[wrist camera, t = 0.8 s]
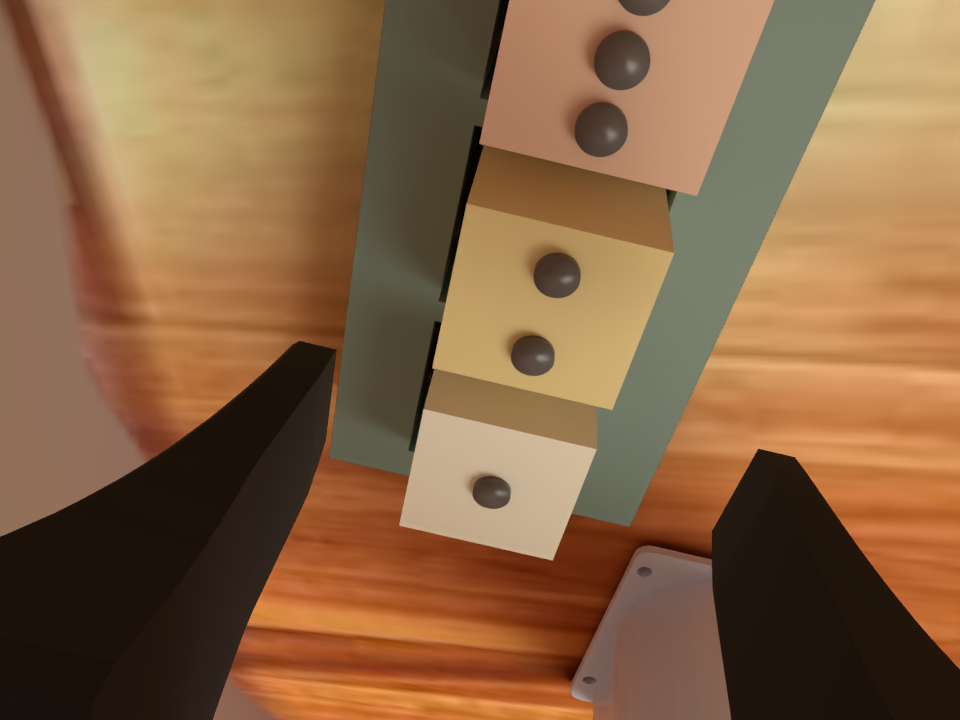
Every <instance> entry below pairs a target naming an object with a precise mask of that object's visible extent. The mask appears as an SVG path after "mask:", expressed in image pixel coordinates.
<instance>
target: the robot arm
mask: <svg viewBox="0 0 960 720" xmlns="http://www.w3.org/2000/svg"><path fill="white" fill-rule="evenodd" d="M335 358H336V350H335V349H331V348H327V347H322V346H318V345H314V344H310V343H305V342H301V341H299V342H297V343H295V344H293V345H292V346H291V347H290V348H289V349H288V350H287V351H286V352H285V353H284V354H283V355H282V356H281V357H280V358H279V359H278V360H277V361H275V362H274V363H273V364H272V365H271V366H270V367H269V368H268V369H267V370H266V371H265V372H264V373H263V374H262V375H260V376H259V377H258V378H257V379H256V380H255V381H254V382H253V383H251V384H250V385H249V386H248V387H247V388H246V389H245V390H243V391H242V392H241V393H240V394H239V395H237V396H236V397H235V398H234V399H232V400H231V401H230V402H229V403H228V404H226V405H225V406H224V407H223V408H222V409H220V410H219V411H218V412H217V413H215V414H214V415H213V416H212V417H210V418H209V419H208V420H206V421H205V422H204V423H202V424H201V425H200V426H198V427H197V428H195V429H194V430H193V431H191V432H190V433H189V434H187V435H186V436H185V437H183V438H182V439H180V440H179V441H178V442H176V443H175V444H174V445H172V446H171V447H169V448H168V449H166V450H165V451H163V452H162V453H160V454H159V455H157V456H156V457H154V458H153V459H151V460H150V461H148V462H146V463H145V464H143V465H142V466H140V467H138V468H137V469H135V470H133V471H132V472H130V473H128V474H127V475H125V476H123V477H122V478H120V479H118V480H117V481H115V482H113V483H111V484H109V485H107V486H106V487H104V488H102V489H100V490H98V491H96V492H95V493H93V494H91V495H89V496H87V497H86V498H84V499H82V500H80V501H78V502H76V503H74V504H72V505H70V506H68V507H66V508H64V509H62V510H60V511H58V512H56V513H54V514H52V515H49V516H47V517H45V518H42V519H40V520H38V521H36V522H33V523H31V524H29V525H26V526H24V527H22V528H20V529H17V530H15V531H13V532H11V533H8V534H6V535H4V536H1V537H0V720H213V717H214V714H215V711H216V708H217V706H218V703H219V699H220V697H221V694H222V691H223V688H224V685H225V683H226V680H227V677H228V674H229V672H230V669H231V666H232V663H233V660H234V658H235V655H236V652H237V649H238V646H239V644H240V641H241V638H242V635H243V633H244V630H245V628H246V626H247V623H248V621H249V618H250V616H251V614H252V611H253V609H254V607H255V605H256V603H257V600H258V598H259V596H260V594H261V592H262V590H263V588H264V586H265V584H266V582H267V579H268V577H269V575H270V573H271V571H272V569H273V567H274V565H275V563H276V561H277V559H278V556H279V554H280V552H281V550H282V548H283V546H284V544H285V542H286V540H287V538H288V535H289V533H290V531H291V529H292V527H293V525H294V523H295V521H296V519H297V516H298V514H299V512H300V510H301V508H302V506H303V504H304V501H305V499H306V497H307V495H308V492H309V489H310V486H311V483H312V481H313V478H314V475H315V472H316V469H317V466H318V463H319V460H320V457H321V454H322V451H323V448H324V444H325V441H326V433H327V425H328V417H329V408H330V400H331V392H332V383H333V375H334V367H335ZM641 567H647V568H641ZM570 693H571V695H572V696H573V697H575V698H577V699H580V700H584V701H588V702H593V720H960V669H959V668H958V667H957V666H956V665H955V664H954V663H953V662H952V661H951V660H950V658H949V657H948V656H947V655H946V654H945V653H944V652H943V651H942V650H941V649H940V648H939V647H938V646H937V644H936V643H935V642H934V641H933V640H932V639H931V638H930V637H929V636H928V634H927V633H926V632H925V631H924V630H923V629H922V627H921V626H920V625H919V624H918V623H917V622H916V620H915V619H914V618H913V617H912V616H911V614H910V613H909V612H908V611H907V609H906V608H905V607H904V606H903V604H902V603H901V602H900V601H899V600H898V598H897V597H896V596H895V595H894V593H893V592H892V591H891V590H890V588H889V587H888V586H887V585H886V583H885V582H884V581H883V579H882V578H881V577H880V575H879V574H878V573H877V572H876V570H875V569H874V568H873V566H872V565H871V564H870V562H869V561H868V560H867V558H866V557H865V555H864V554H863V553H862V551H861V550H860V549H859V547H858V546H857V544H856V543H855V542H854V540H853V539H852V537H851V536H850V535H849V533H848V532H847V530H846V529H845V528H844V526H843V525H842V523H841V522H840V520H839V519H838V518H837V516H836V515H835V513H834V512H833V510H832V509H831V508H830V506H829V505H828V503H827V502H826V500H825V499H824V497H823V496H822V495H821V493H820V492H819V490H818V489H817V487H816V486H815V484H814V483H813V482H812V480H811V479H810V477H809V476H808V475H807V473H806V472H805V470H804V469H803V468H802V466H801V465H800V464H799V462H798V461H797V460H796V458H795V457H791V456H787V455H782V454H778V453H774V452H770V451H765V450H761V449H758V451H757V452H756V454H755V456H754V458H753V460H752V461H751V463H750V465H749V467H748V468H747V470H746V472H745V474H744V475H743V477H742V479H741V481H740V483H739V484H738V486H737V488H736V490H735V491H734V493H733V495H732V497H731V499H730V500H729V502H728V504H727V506H726V507H725V509H724V511H723V513H722V515H721V516H720V518H719V520H718V522H717V523H716V525H715V527H714V529H713V530H712V559H708V558H703V557H699V556H695V555H690V554H686V553H682V552H677V551H673V550H668V549H664V548H660V547H655V546H649V545H647V546H642V547H640V548H638V549H637V550H636V551H635V552H634V554H633V556H632V558H631V561H630V563H629V565H628V567H627V569H626V571H625V573H624V575H623V577H622V579H621V581H620V583H619V585H618V587H617V589H616V591H615V594H614V596H613V598H612V600H611V602H610V604H609V606H608V608H607V610H606V612H605V614H604V616H603V618H602V620H601V622H600V624H599V626H598V629H597V631H596V633H595V635H594V637H593V639H592V641H591V643H590V645H589V647H588V649H587V651H586V653H585V655H584V657H583V659H582V661H581V664H580V666H579V668H578V670H577V672H576V674H575V676H574V678H573V680H572V682H571V689H570Z"/></svg>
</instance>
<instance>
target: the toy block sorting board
mask: <svg viewBox="0 0 960 720" xmlns="http://www.w3.org/2000/svg"><path fill="white" fill-rule="evenodd" d="M874 2H875V0H774V3H773V5H772V8H771V10H770V13H769V15H768V18H767V20H766V23H765V25H764V28H763V30H762V33H761V36H760V38H759V41H758V43H757V46H756V48H755V51H754V53H753V56H752V58H751V61H750V63H749V66H748V68H747V71H746V73H745V76H744V78H743V81H742V84H741V86H740V89H739V91H738V94H737V96H736V99H735V101H734V104H733V106H732V109H731V111H730V114H729V116H728V119H727V121H726V124H725V126H724V129H723V132H722V134H721V137H720V139H719V142H718V144H717V147H716V149H715V152H714V154H713V157H712V159H711V162H710V164H709V167H708V169H707V172H706V175H705V177H704V180H703V182H702V185H701V187H700V190H699V192H698V195H697V196H695V195H690V194H686V193H682V192H678V191H674V190H670V189H666V195H667V202H668V209H669V217H670V224H671V232H672V239H673V246H674V255H673V258H672V260H671V263H670V265H669V268H668V271H667V273H666V276H665V278H664V281H663V283H662V286H661V288H660V291H659V293H658V296H657V298H656V301H655V303H654V306H653V308H652V311H651V314H650V316H649V319H648V321H647V324H646V326H645V329H644V331H643V334H642V336H641V339H640V341H639V344H638V346H637V349H636V351H635V354H634V356H633V359H632V362H631V364H630V367H629V369H628V372H627V374H626V377H625V379H624V382H623V384H622V387H621V389H620V392H619V394H618V397H617V399H616V402H615V404H614V407H613V410H610V409H606V408H601V407H597V450H596V452H595V455H594V458H593V460H592V463H591V465H590V468H589V470H588V473H587V475H586V478H585V480H584V483H583V485H582V488H581V490H580V493H579V495H578V498H577V501H576V503H575V506H574V508H573V511H572V513H571V514H575V515H579V516H584V517H588V518H592V519H597V520H601V521H606V522H610V523H614V524H619V525H623V526H627V527H630V525H631V523H632V521H633V519H634V517H635V515H636V512H637V510H638V508H639V506H640V504H641V502H642V500H643V497H644V495H645V493H646V491H647V489H648V487H649V485H650V482H651V480H652V478H653V476H654V474H655V472H656V470H657V467H658V465H659V463H660V461H661V459H662V457H663V455H664V452H665V450H666V448H667V446H668V444H669V442H670V440H671V437H672V435H673V433H674V431H675V429H676V427H677V425H678V422H679V420H680V418H681V416H682V414H683V412H684V410H685V407H686V405H687V403H688V401H689V399H690V397H691V395H692V392H693V390H694V388H695V386H696V384H697V382H698V380H699V377H700V375H701V373H702V371H703V369H704V367H705V365H706V362H707V360H708V358H709V356H710V354H711V352H712V350H713V347H714V345H715V343H716V341H717V339H718V337H719V335H720V332H721V330H722V328H723V326H724V324H725V322H726V320H727V317H728V315H729V313H730V311H731V309H732V307H733V305H734V302H735V300H736V298H737V296H738V294H739V292H740V290H741V287H742V285H743V283H744V281H745V279H746V277H747V275H748V272H749V270H750V268H751V266H752V264H753V262H754V260H755V257H756V255H757V253H758V251H759V249H760V247H761V245H762V242H763V240H764V238H765V236H766V234H767V232H768V229H769V227H770V225H771V223H772V221H773V219H774V217H775V214H776V212H777V210H778V208H779V206H780V204H781V202H782V199H783V197H784V195H785V193H786V191H787V189H788V187H789V184H790V182H791V180H792V178H793V176H794V174H795V172H796V169H797V167H798V165H799V163H800V161H801V159H802V157H803V154H804V152H805V150H806V148H807V146H808V144H809V142H810V139H811V137H812V135H813V133H814V131H815V129H816V127H817V124H818V122H819V120H820V118H821V116H822V114H823V112H824V109H825V107H826V105H827V103H828V101H829V99H830V97H831V94H832V92H833V90H834V88H835V86H836V84H837V82H838V79H839V77H840V75H841V73H842V71H843V69H844V67H845V64H846V62H847V60H848V58H849V56H850V54H851V52H852V49H853V47H854V45H855V43H856V41H857V39H858V37H859V34H860V32H861V30H862V28H863V26H864V24H865V22H866V19H867V17H868V15H869V13H870V11H871V9H872V7H873V4H874ZM505 3H506V0H386V1H385V9H384V17H383V25H382V33H381V41H380V49H379V58H378V66H377V74H376V82H375V90H374V98H373V106H372V114H371V123H370V131H369V139H368V147H367V155H366V163H365V171H364V180H363V188H362V196H361V204H360V212H359V220H358V228H357V236H356V245H355V253H354V261H353V269H352V277H351V285H350V293H349V301H348V310H347V318H346V326H345V334H344V342H343V350H342V358H341V366H340V375H339V383H338V391H337V399H336V407H335V415H334V423H333V432H332V440H331V448H330V456H329V458H331V459H336V460H340V461H344V462H349V463H353V464H358V465H362V466H366V467H371V468H375V469H379V470H384V471H388V472H392V473H397V474H401V475H405V476H410V471H411V467H412V462H413V457H414V452H415V448H416V443H417V438H418V433H419V429H420V424H421V419H422V414H423V409H424V406H425V402H426V398H427V395H428V391H429V387H430V386H426V384H427V379H428V374H429V369H430V364H431V360H432V355H433V350H434V345H435V340H436V335H437V331H438V326H439V322H441V323H442V319H443V314H444V309H445V305H446V300H447V295H448V290H449V286H450V281H451V276H452V271H453V266H454V262H455V257H456V252H457V247H458V243H456V239H457V234H458V229H459V225H460V220H461V215H462V210H463V205H464V200H465V196H466V191H467V186H468V181H469V176H470V172H471V167H472V162H473V157H474V152H475V147H476V143H477V138H478V133H479V128H480V127H483V123H484V119H485V114H486V109H487V104H488V100H489V95H490V90H491V85H492V81H493V76H494V71H495V66H496V62H497V57H498V55H495V51H496V46H497V41H498V37H499V32H500V27H501V22H502V17H503V13H504V8H505Z"/></svg>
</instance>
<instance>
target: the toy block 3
mask: <svg viewBox="0 0 960 720" xmlns="http://www.w3.org/2000/svg"><path fill="white" fill-rule="evenodd" d="M596 450H597V406H593V405H588V404H584V403H580V402H576V401H571V400H567V399H563V398H558V397H554V396H550V395H546V394H541V393H537V392H533V391H528V390H524V389H520V388H516V387H511V386H507V385H503V384H498V383H494V382H490V381H486V380H481V379H477V378H473V377H468V376H464V375H460V374H456V373H451V372H447V371H443V370H438V369H434V372H433V376H432V380H431V383H430V387H429V391H428V395H427V398H426V402H425V406H424V409H423V414H422V419H421V424H420V429H419V433H418V438H417V443H416V448H415V452H414V457H413V462H412V467H411V471H410V476H409V481H408V486H407V490H406V495H405V500H404V505H403V510H402V514H401V519H400V524H399V526H403V527H408V528H412V529H416V530H421V531H425V532H429V533H434V534H438V535H443V536H447V537H451V538H456V539H460V540H464V541H469V542H473V543H478V544H482V545H486V546H491V547H495V548H500V549H504V550H508V551H513V552H517V553H521V554H526V555H530V556H535V557H539V558H543V559H548V560H552V561H553V559H554V556H555V554H556V551H557V549H558V546H559V543H560V541H561V538H562V536H563V533H564V531H565V528H566V526H567V523H568V521H569V518H570V516H571V513H572V511H573V508H574V506H575V503H576V501H577V498H578V495H579V493H580V490H581V488H582V485H583V483H584V480H585V478H586V475H587V473H588V470H589V468H590V465H591V463H592V460H593V458H594V455H595V452H596Z"/></svg>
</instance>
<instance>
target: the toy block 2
mask: <svg viewBox="0 0 960 720" xmlns="http://www.w3.org/2000/svg"><path fill="white" fill-rule="evenodd" d="M673 255H674V246H673V239H672V232H671V224H670V217H669V209H668V202H667V195H666V189H665V188H661V187H657V186H653V185H649V184H645V183H640V182H636V181H632V180H628V179H624V178H620V177H616V176H611V175H607V174H603V173H599V172H595V171H591V170H586V169H582V168H578V167H574V166H570V165H566V164H561V163H557V162H553V161H549V160H545V159H541V158H536V157H532V156H528V155H524V154H520V153H516V152H511V151H507V150H503V149H499V148H495V147H491V146H486V145H484V147H483V150H482V154H481V157H480V160H479V164H478V167H477V171H476V174H475V177H474V181H473V184H472V187H471V191H470V194H469V197H468V201H467V205H466V209H465V214H464V219H463V224H462V228H461V233H460V238H459V243H458V247H457V252H456V257H455V262H454V266H453V271H452V276H451V281H450V286H449V290H448V295H447V300H446V305H445V309H444V314H443V319H442V324H441V328H440V333H439V338H438V343H437V347H436V352H435V357H434V362H433V367H432V368H434V369H438V370H443V371H447V372H451V373H456V374H460V375H464V376H468V377H473V378H477V379H481V380H486V381H490V382H494V383H498V384H503V385H507V386H511V387H516V388H520V389H524V390H528V391H533V392H537V393H541V394H546V395H550V396H554V397H558V398H563V399H567V400H571V401H576V402H580V403H584V404H588V405H593V406H597V407H601V408H606V409H610V410H613V407H614V404H615V402H616V399H617V397H618V394H619V392H620V389H621V387H622V384H623V382H624V379H625V377H626V374H627V372H628V369H629V367H630V364H631V362H632V359H633V356H634V354H635V351H636V349H637V346H638V344H639V341H640V339H641V336H642V334H643V331H644V329H645V326H646V324H647V321H648V319H649V316H650V314H651V311H652V308H653V306H654V303H655V301H656V298H657V296H658V293H659V291H660V288H661V286H662V283H663V281H664V278H665V276H666V273H667V271H668V268H669V265H670V263H671V260H672V258H673Z"/></svg>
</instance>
